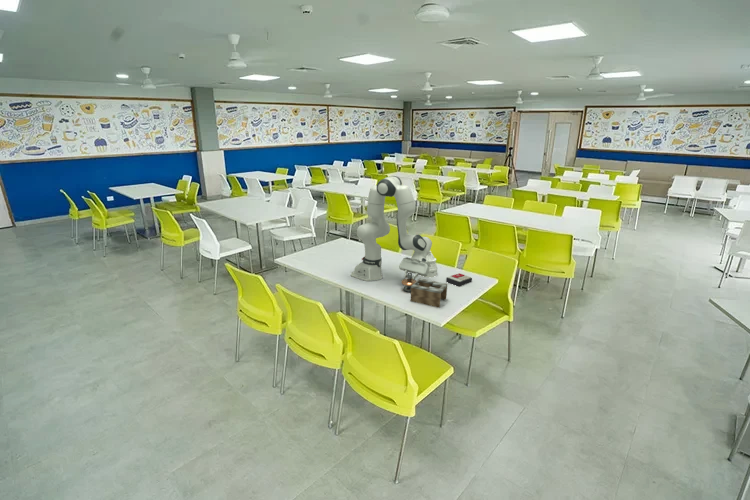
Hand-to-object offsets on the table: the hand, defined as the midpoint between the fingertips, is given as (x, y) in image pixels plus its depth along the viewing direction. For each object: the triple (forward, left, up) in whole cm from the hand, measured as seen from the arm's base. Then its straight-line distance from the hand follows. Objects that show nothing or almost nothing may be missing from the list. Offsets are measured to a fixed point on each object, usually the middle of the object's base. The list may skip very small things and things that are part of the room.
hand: (409, 278), depth 243 cm
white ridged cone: (+1, +35, -9) cm, 36 cm away
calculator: (+25, +32, -9) cm, 41 cm away
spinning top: (0, +1, -8) cm, 8 cm away
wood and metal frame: (+16, -7, -8) cm, 20 cm away
